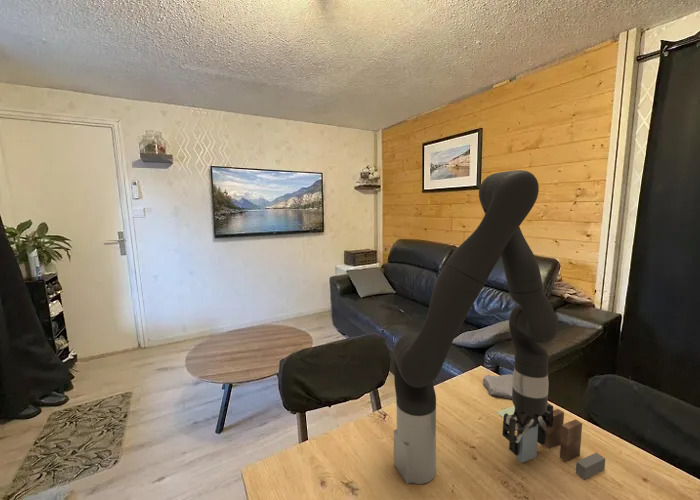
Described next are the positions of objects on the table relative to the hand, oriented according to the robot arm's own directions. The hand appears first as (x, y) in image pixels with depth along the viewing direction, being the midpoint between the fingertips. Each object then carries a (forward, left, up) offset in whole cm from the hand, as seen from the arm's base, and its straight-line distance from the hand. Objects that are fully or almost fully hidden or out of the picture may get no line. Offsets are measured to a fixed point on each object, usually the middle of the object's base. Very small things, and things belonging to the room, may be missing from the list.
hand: (527, 447), depth 78 cm
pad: (+10, +14, -3) cm, 17 cm away
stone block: (+17, +23, -3) cm, 29 cm away
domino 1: (0, 0, -3) cm, 3 cm away
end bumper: (+10, -9, -3) cm, 13 cm away
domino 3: (+10, -4, -3) cm, 11 cm away
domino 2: (+10, +1, -3) cm, 10 cm away
